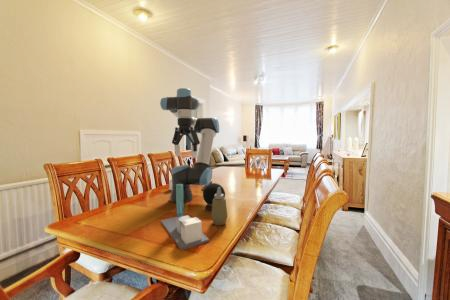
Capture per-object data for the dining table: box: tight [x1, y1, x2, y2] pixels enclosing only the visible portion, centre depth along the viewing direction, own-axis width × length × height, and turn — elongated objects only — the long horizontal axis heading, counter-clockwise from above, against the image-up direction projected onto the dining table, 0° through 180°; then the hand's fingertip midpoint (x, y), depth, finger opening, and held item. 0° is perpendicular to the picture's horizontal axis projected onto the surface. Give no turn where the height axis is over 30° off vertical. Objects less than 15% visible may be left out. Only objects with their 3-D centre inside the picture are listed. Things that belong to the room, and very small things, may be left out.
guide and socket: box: [160, 214, 210, 251], centre depth 95 cm, size 30×12×8 cm, turn 31°
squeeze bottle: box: [211, 187, 228, 226], centre depth 102 cm, size 8×8×18 cm
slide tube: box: [176, 184, 185, 218], centre depth 91 cm, size 16×3×20 cm, turn 31°
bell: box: [201, 180, 213, 191], centre depth 166 cm, size 12×12×7 cm
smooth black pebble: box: [202, 182, 226, 213], centre depth 123 cm, size 13×13×15 cm
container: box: [168, 179, 172, 191], centre depth 168 cm, size 8×8×13 cm
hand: (185, 157), depth 114 cm, fingers open, 13 cm apart
